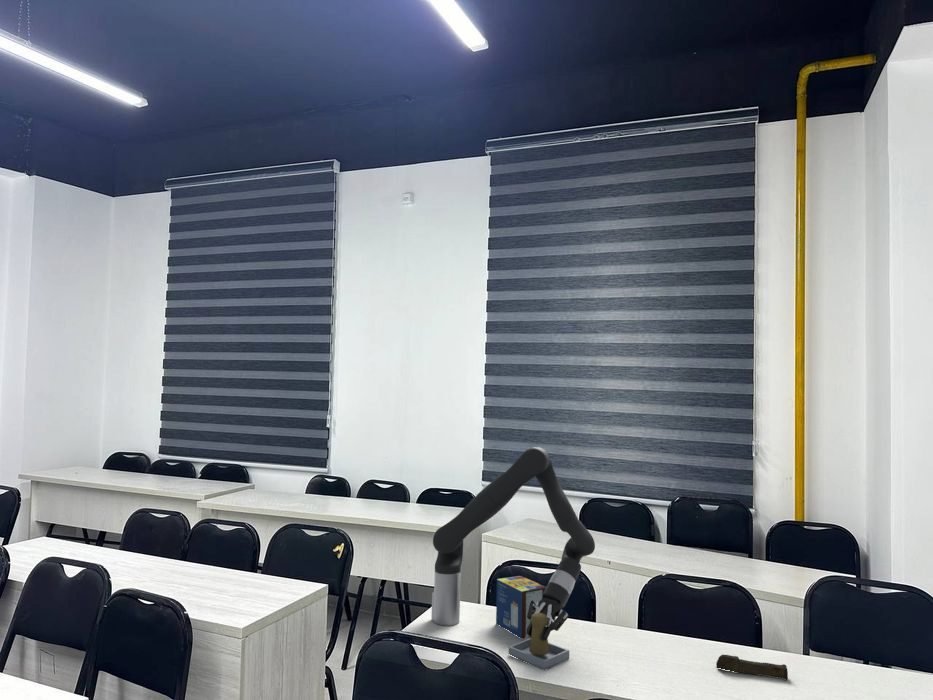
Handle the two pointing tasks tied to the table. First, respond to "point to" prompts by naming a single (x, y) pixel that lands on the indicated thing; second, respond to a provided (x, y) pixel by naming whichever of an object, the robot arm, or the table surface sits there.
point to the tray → (540, 661)
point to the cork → (538, 635)
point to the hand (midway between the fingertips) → (535, 637)
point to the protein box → (516, 603)
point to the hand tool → (751, 667)
